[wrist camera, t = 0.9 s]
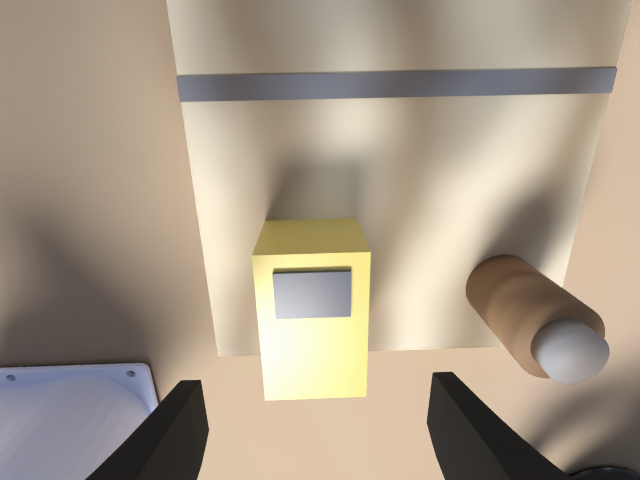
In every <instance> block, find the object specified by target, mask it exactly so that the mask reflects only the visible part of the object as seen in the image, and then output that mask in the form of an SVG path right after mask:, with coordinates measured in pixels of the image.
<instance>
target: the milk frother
mask: <svg viewBox="0 0 640 480" xmlns="http://www.w3.org/2000/svg"><path fill="white" fill-rule="evenodd" d="M571 478H572V479H573V480H640V475H639V474H637V473H636V472H633V471H630V470H627V469H623V468H613V467H611V468H597V469H592V470H587V471H584V472H581V473H578V474H575V475H573V476H571Z"/></svg>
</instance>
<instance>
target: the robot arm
mask: <svg viewBox="0 0 640 480" xmlns="http://www.w3.org/2000/svg"><path fill="white" fill-rule="evenodd" d="M130 370H131V371H133V372H134V373H132V372H131V371H130ZM427 425H428V429H429V432H430V436H431V440H432V444H433V447H434V451H435V454H436V457H437V460H438V463H439V465H440V468H441V470H442V473H443V475H444V478H445V480H573V479H572V478H571V477H569V476H568V475H567V474H565V473H564V472H563V471H561V470H560V469H559V468H558V467H556V466H555V465H554V464H552V463H551V462H550V461H549V460H547V459H546V458H545V457H544V456H543V455H541V454H540V453H539V452H538V451H537V450H535V449H534V448H533V447H532V446H531V445H530V444H528V443H527V442H526V441H525V440H524V439H522V438H521V437H520V436H519V435H518V434H517V433H516V432H515V431H513V430H512V429H511V428H510V427H509V426H508V425H507V424H506V423H505V422H504V421H502V420H501V419H500V418H499V417H498V416H497V415H496V414H495V413H494V412H493V411H492V410H491V409H490V408H489V407H488V406H487V405H486V404H484V403H483V402H482V401H481V400H480V399H479V398H478V397H477V396H476V395H475V394H474V393H473V392H472V391H471V390H470V389H469V388H468V387H467V386H466V385H465V384H464V383H463V382H462V381H461V380H460V379H459V378H458V377H457V376H456V375H455V374H454V373H453V372H434V373H433V375H432V384H431V392H430V400H429V409H428V417H427ZM208 432H209V427H208V421H207V415H206V409H205V403H204V397H203V391H202V384H201V380H182V381H180V382H179V383H178V384H177V385H176V386H175V387H174V388H173V389H172V390H171V392H170V393H169V394H168V395H167V396H166V397H165V398H164V399H163V400H162V402H161V403H160V404H159V405H158V402H157V397H156V393H155V389H154V384H153V380H152V376H151V371H150V368H149V367H148V366H147V365H146V364H144V363H124V364H96V365H67V366H39V367H11V368H0V480H197V477H198V474H199V471H200V468H201V464H202V460H203V456H204V451H205V447H206V442H207V437H208Z"/></svg>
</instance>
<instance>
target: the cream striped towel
mask: <svg viewBox="0 0 640 480" xmlns="http://www.w3.org/2000/svg"><path fill="white" fill-rule="evenodd" d="M166 3H167V10H168V17H169V24H170V30H171V37H172V44H173V51H174V58H175V65H176V71H177V84H178V91H179V97H180V102H181V106H182V113H183V119H184V126H185V133H186V140H187V147H188V154H189V161H190V167H191V174H192V181H193V188H194V195H195V202H196V209H197V215H198V222H199V229H200V236H201V243H202V250H203V257H204V263H205V270H206V277H207V284H208V291H209V298H210V304H211V311H212V318H213V325H214V332H215V339H216V346H217V352H218V357H223V356H251V355H261V349H260V339H259V328H258V317H257V307H256V296H255V286H254V275H253V265H252V253H253V251H254V248H255V246H256V243H257V240H258V238H259V235H260V232H261V230H262V227H263V225H264V222H265V221H267V220H303V219H339V218H357V221H358V223H359V225H360V228H361V230H362V232H363V235H364V237H365V240H366V242H367V244H368V247H369V249H370V251H371V261H370V292H369V323H368V351H393V350H421V349H449V348H478V347H505V346H504V345H503V344H502V343H501V341H500V340H499V339H498V338H497V336H496V335H495V334H494V333H493V332H492V330H491V329H490V328H489V327H488V325H487V324H486V323H485V322H484V320H483V319H482V318H481V317H480V316H479V314H478V313H477V312H476V311H475V309H474V308H473V307H472V306H471V304H470V303H469V301H468V299H467V297H466V283H467V280H468V278H469V276H470V274H471V272H472V271H473V270H474V269H475V267H477V266H478V265H479V264H480V263H481V262H483V261H484V260H486V259H488V258H490V257H493V256H497V255H504V254H506V255H514V256H517V257H519V258H521V259H523V260H524V261H525V262H527V263H528V264H530V265H531V266H532V267H534V268H535V269H537V270H538V271H539V272H541V273H542V274H544V275H545V276H546V277H548V278H549V279H551V280H552V281H553V282H555V283H556V284H557V285H559V286H560V287H562V286H563V282H564V278H565V274H566V270H567V266H568V261H569V257H570V253H571V249H572V245H573V241H574V237H575V233H576V229H577V225H578V221H579V216H580V212H581V208H582V204H583V200H584V196H585V192H586V188H587V184H588V180H589V176H590V171H591V167H592V163H593V159H594V155H595V151H596V147H597V143H598V139H599V135H600V131H601V127H602V122H603V118H604V114H605V110H606V106H607V102H608V98H609V94H610V93H612V89H613V85H614V81H615V77H616V72H617V68H616V65H617V61H618V57H619V53H620V49H621V45H622V41H623V37H624V32H625V28H626V24H627V20H628V16H629V12H630V8H631V4H632V0H166Z"/></svg>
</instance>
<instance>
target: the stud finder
mask: <svg viewBox="0 0 640 480" xmlns="http://www.w3.org/2000/svg"><path fill="white" fill-rule="evenodd" d="M370 261H371V251H370V249H369V247H368V244H367V242H366V240H365V237H364V235H363V232H362V230H361V228H360V225H359V223H358V221H357V218H339V219H303V220H267V221H265V222H264V225H263V227H262V230H261V232H260V235H259V238H258V240H257V243H256V246H255V248H254V251H253V253H252V265H253V275H254V286H255V296H256V307H257V317H258V328H259V339H260V349H261V360H262V370H263V381H264V392H265V400H290V399H316V398H342V397H366V385H367V354H368V323H369V292H370Z"/></svg>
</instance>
